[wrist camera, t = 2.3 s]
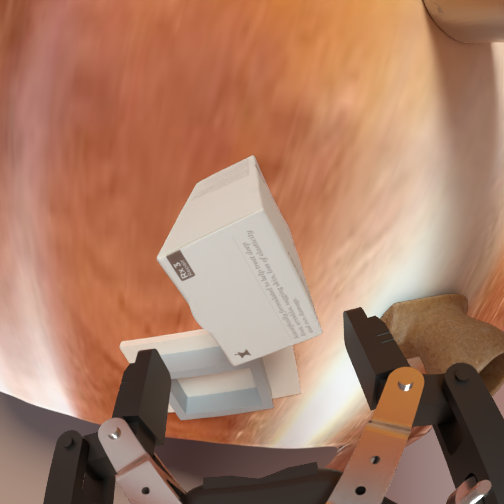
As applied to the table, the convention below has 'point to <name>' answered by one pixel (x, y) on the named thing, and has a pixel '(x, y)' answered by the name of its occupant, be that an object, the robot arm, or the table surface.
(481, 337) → the tan flared vase
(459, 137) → the table surface
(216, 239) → the skincare box
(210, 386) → the socket board
